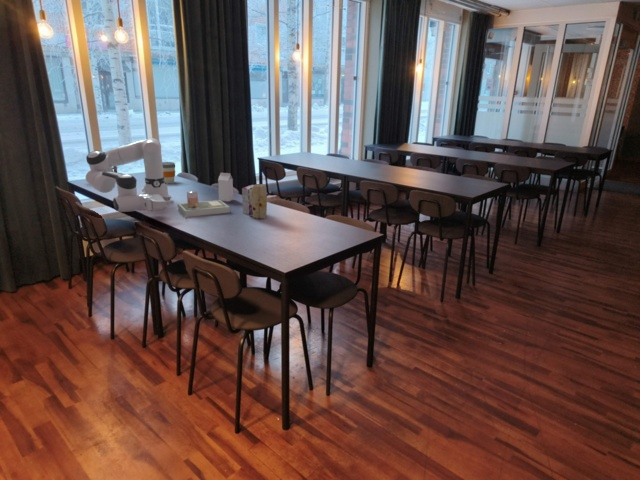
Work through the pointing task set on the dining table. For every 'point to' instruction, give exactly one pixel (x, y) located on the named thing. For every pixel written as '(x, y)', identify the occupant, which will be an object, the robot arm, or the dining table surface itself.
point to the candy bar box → (247, 199)
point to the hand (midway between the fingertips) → (171, 200)
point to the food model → (259, 201)
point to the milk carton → (225, 187)
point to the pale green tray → (202, 209)
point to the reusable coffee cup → (168, 171)
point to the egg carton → (214, 204)
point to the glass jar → (192, 200)
